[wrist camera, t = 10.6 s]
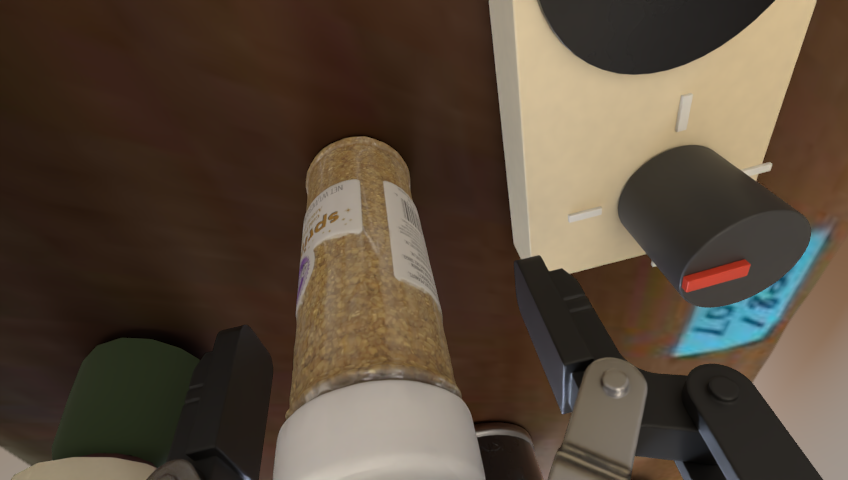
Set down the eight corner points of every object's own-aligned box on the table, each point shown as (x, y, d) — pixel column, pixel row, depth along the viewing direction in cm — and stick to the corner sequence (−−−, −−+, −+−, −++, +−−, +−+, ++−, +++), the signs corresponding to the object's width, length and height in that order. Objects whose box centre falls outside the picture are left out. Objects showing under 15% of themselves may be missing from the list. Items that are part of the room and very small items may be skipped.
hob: (702, 206, 23) (744, 243, 21) (514, 254, 24) (534, 297, 21) (848, -369, 11) (986, -438, 9) (461, -259, 12) (493, -297, 9)
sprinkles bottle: (299, 134, 18) (242, 491, 7) (411, 131, 18) (507, 454, 8) (313, 225, 20) (287, 574, 10) (410, 219, 21) (478, 542, 11)
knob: (731, 130, 17) (840, 198, 13) (711, 217, 20) (796, 294, 16) (619, 163, 17) (695, 240, 13) (615, 245, 20) (677, 327, 16)
